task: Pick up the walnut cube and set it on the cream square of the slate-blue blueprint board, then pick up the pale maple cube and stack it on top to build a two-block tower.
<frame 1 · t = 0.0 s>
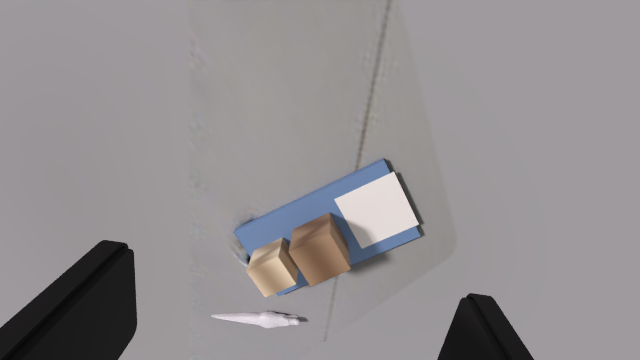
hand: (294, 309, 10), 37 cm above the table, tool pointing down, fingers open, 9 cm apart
stylus pen: (256, 314, 57), on the table
maple cube: (276, 256, 51), point 1 cm above the table, touching blueprint board
blueprint board: (326, 230, 51), on the table
walnut cube: (320, 236, 50), point 1 cm above the table, touching blueprint board
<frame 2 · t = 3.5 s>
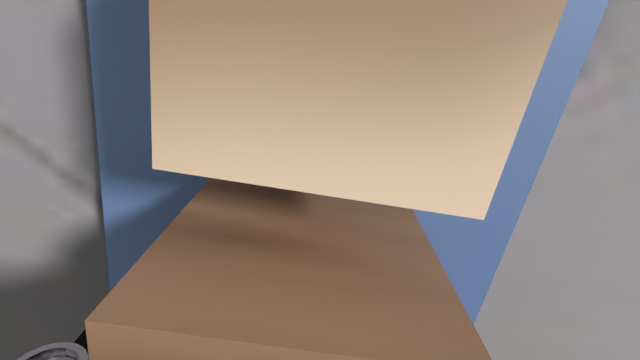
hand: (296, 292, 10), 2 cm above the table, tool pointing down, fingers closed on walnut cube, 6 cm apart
maple cube: (339, 29, 9), point 1 cm above the table, touching blueprint board
blueprint board: (298, 274, 13), on the table
walnut cube: (299, 268, 12), point 1 cm above the table, touching blueprint board, gripper
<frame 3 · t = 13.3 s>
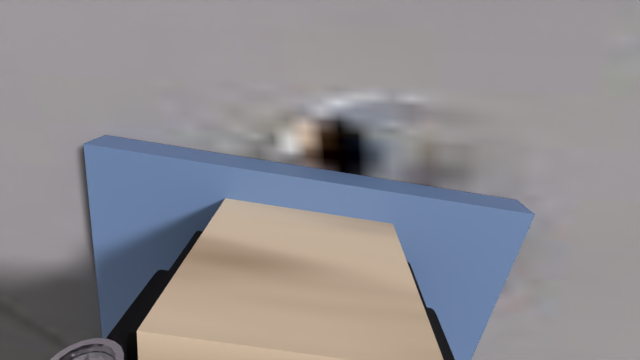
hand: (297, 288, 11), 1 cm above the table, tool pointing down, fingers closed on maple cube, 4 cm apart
maple cube: (298, 279, 11), point 1 cm above the table, touching blueprint board, gripper
when the fingers open (9 cm above the table, at t = 18.3 s): maple cube drops 1 cm, resting on walnut cube.
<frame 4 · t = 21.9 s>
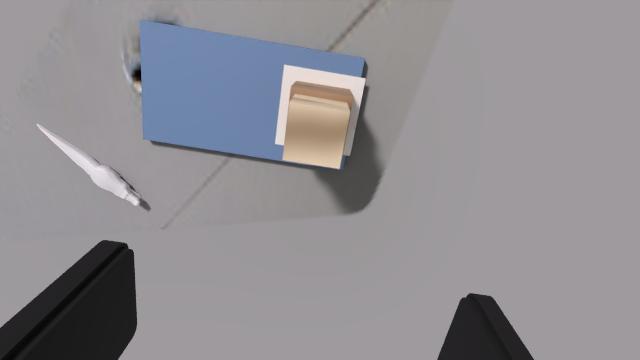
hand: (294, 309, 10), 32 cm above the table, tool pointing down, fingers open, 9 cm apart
stylus pen: (95, 162, 43), on the table
maple cube: (317, 124, 33), point 7 cm above the table, touching walnut cube
blueprint board: (250, 99, 39), on the table
walnut cube: (319, 111, 39), point 1 cm above the table, touching blueprint board, maple cube
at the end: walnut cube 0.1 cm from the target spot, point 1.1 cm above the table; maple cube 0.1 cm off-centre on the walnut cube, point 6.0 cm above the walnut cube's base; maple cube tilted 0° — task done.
